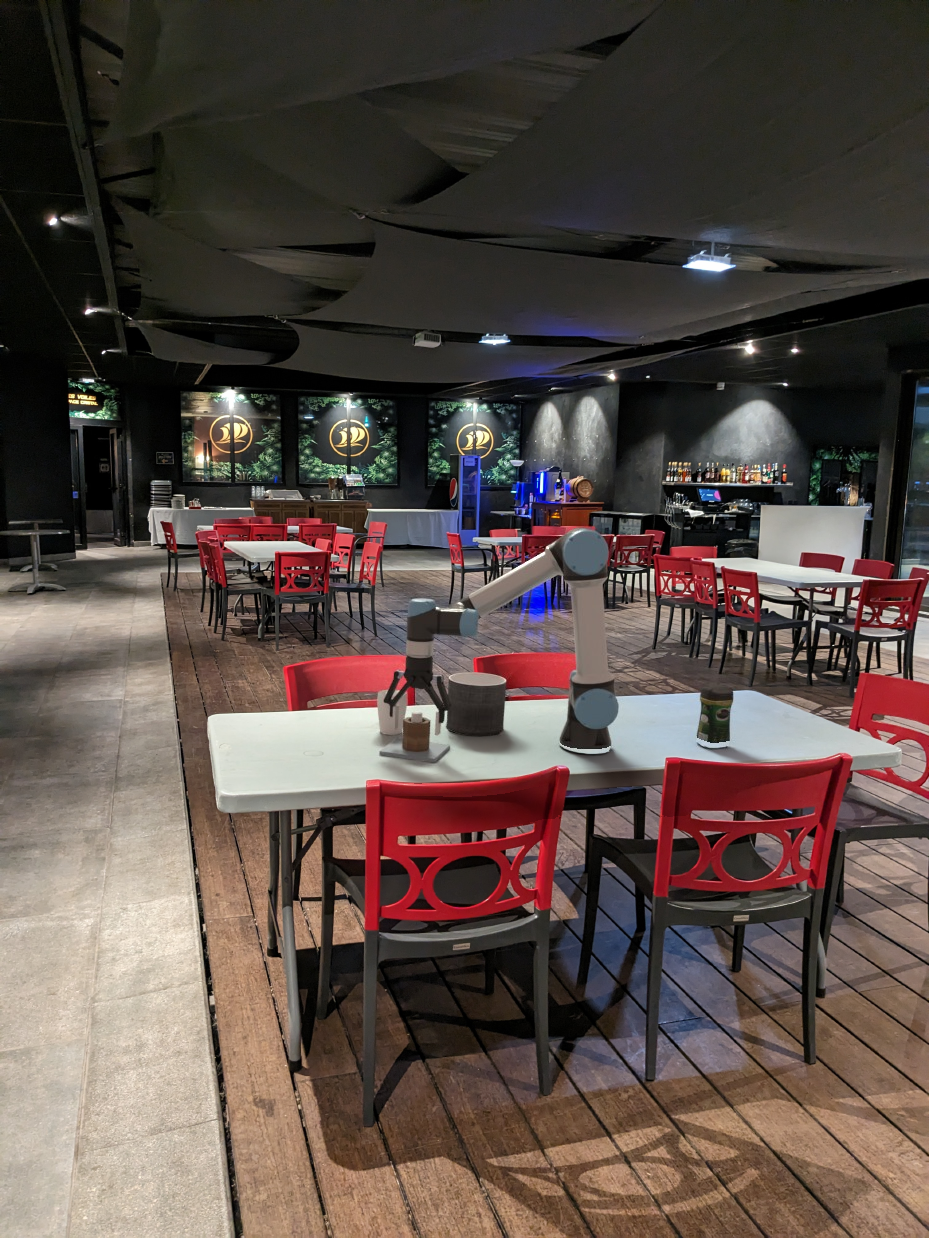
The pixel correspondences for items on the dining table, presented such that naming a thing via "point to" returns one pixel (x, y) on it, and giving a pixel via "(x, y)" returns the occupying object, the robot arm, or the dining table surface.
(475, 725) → the planter
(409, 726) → the collar
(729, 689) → the coffee jar
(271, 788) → the dining table surface
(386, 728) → the cup
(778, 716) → the dining table surface
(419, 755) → the post block
